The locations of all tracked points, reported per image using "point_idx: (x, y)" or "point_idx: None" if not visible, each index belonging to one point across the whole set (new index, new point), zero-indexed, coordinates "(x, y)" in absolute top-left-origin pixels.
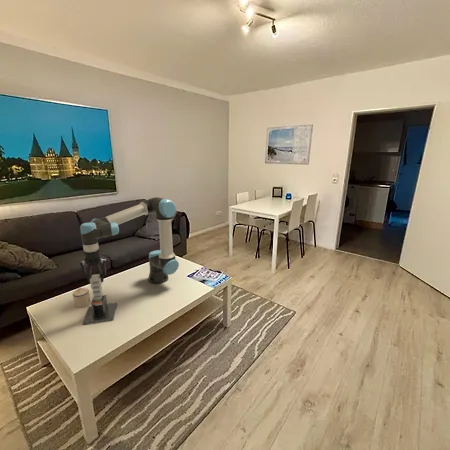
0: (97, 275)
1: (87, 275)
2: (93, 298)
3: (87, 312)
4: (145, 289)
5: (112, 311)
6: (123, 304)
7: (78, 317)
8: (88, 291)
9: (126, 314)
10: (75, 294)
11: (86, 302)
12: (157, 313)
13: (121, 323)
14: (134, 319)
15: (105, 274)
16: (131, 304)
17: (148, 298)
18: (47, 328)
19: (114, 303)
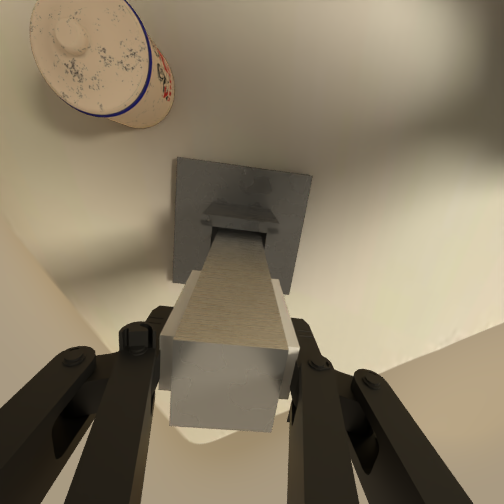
0: (257, 386)
1: (102, 381)
2: (204, 236)
3: (179, 211)
4: (487, 59)
5: (288, 248)
6: (339, 185)
7: (144, 215)
8: (150, 64)
9: (338, 272)
10: (62, 93)
11: (157, 115)
12: (446, 309)
13: (312, 319)
14: (359, 313)
15: (373, 442)
16: (373, 201)
17: (460, 179)
18: (37, 247)
19: (302, 179)
